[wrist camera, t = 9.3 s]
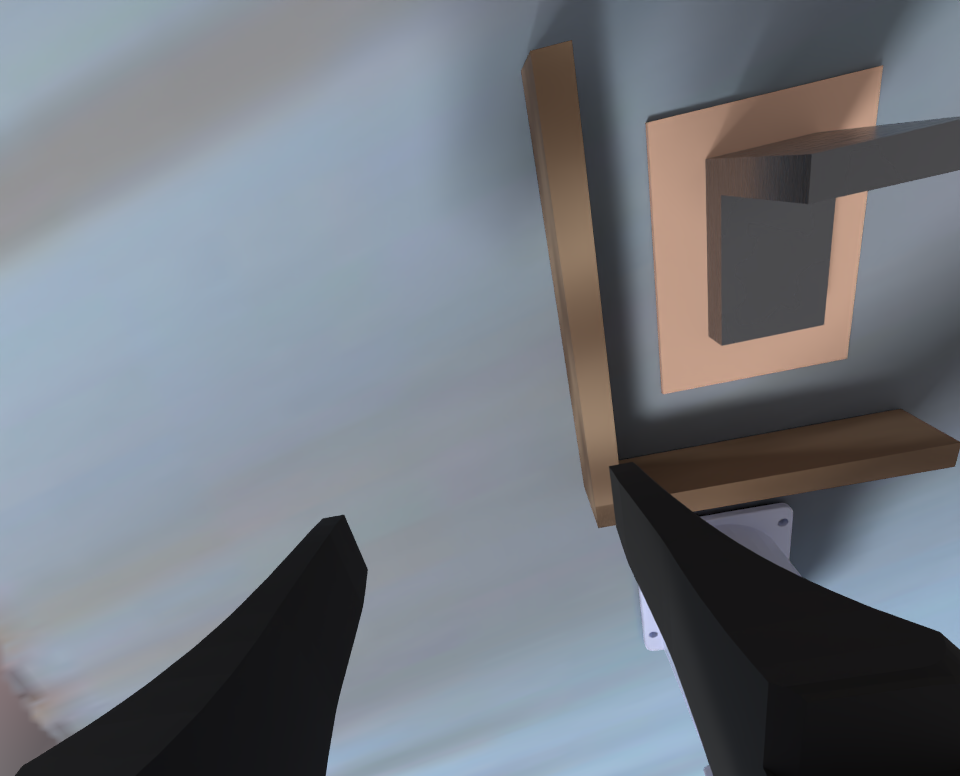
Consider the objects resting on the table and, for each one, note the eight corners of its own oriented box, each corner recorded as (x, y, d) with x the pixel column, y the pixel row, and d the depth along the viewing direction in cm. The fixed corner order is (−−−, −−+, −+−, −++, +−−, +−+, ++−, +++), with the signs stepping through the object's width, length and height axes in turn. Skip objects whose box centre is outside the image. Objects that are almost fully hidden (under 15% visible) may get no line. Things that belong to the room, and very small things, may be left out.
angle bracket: (705, 158, 17) (811, 154, 12) (818, 131, 17) (982, 114, 11) (708, 336, 20) (795, 398, 15) (804, 316, 20) (930, 372, 14)
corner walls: (896, 430, 22) (954, 466, 20) (584, 486, 24) (598, 528, 21) (984, -49, 15) (1098, -98, 12) (520, 70, 16) (530, 50, 13)
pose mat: (843, 356, 21) (846, 358, 21) (661, 392, 21) (663, 394, 21) (878, 66, 16) (882, 65, 16) (645, 123, 17) (647, 122, 17)
